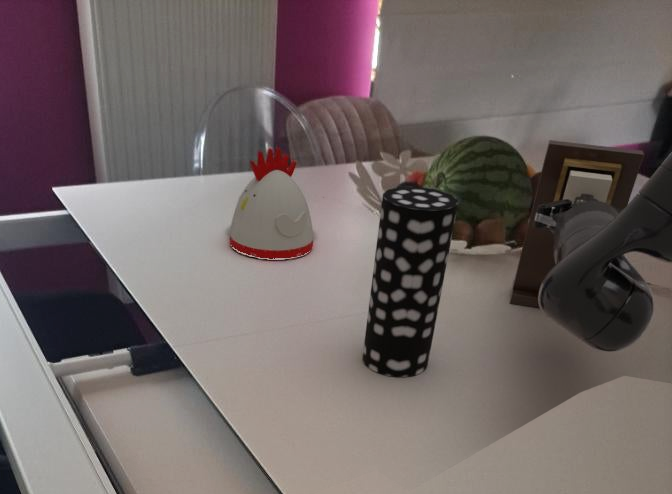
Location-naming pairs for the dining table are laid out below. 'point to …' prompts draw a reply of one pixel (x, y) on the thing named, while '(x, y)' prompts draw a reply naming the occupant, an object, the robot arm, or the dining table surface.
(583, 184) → the switch button
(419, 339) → the spotted tube
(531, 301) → the wall panel
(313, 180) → the dining table surface
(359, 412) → the dining table surface
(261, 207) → the kitchen timer
